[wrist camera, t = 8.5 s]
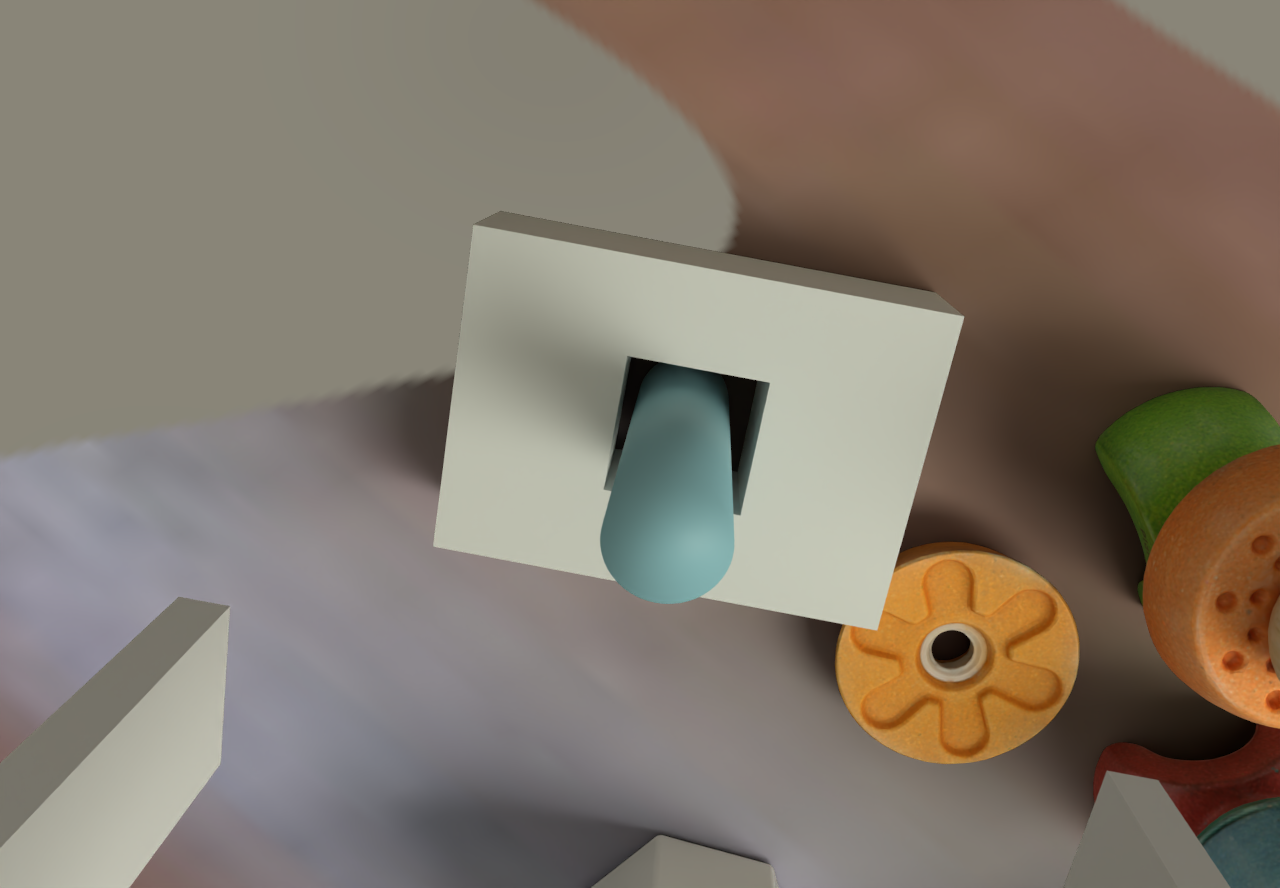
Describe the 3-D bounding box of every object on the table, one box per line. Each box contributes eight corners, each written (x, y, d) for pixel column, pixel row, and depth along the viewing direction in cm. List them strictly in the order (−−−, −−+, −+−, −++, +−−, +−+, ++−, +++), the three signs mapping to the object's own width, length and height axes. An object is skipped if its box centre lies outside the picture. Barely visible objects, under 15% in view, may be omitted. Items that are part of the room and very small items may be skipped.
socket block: (462, 500, 36) (433, 546, 33) (500, 211, 33) (473, 224, 30) (859, 575, 36) (876, 630, 33) (935, 292, 33) (964, 316, 29)
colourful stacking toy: (778, 548, 36) (811, 762, 25) (1282, 342, 33) (1601, 475, 21) (963, 937, 41) (1067, 1278, 29) (1423, 790, 38) (1751, 1105, 26)
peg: (631, 434, 35) (589, 589, 24) (647, 348, 34) (612, 467, 23) (718, 451, 35) (719, 615, 24) (737, 365, 34) (747, 493, 23)
